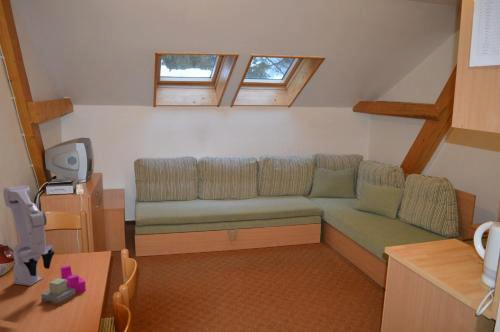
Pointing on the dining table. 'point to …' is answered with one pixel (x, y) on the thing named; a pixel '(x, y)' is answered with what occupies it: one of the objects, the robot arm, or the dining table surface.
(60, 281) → the sage cube
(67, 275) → the toy block
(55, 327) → the dining table surface
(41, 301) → the grey square slab
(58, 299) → the slate top slab
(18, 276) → the robot arm
